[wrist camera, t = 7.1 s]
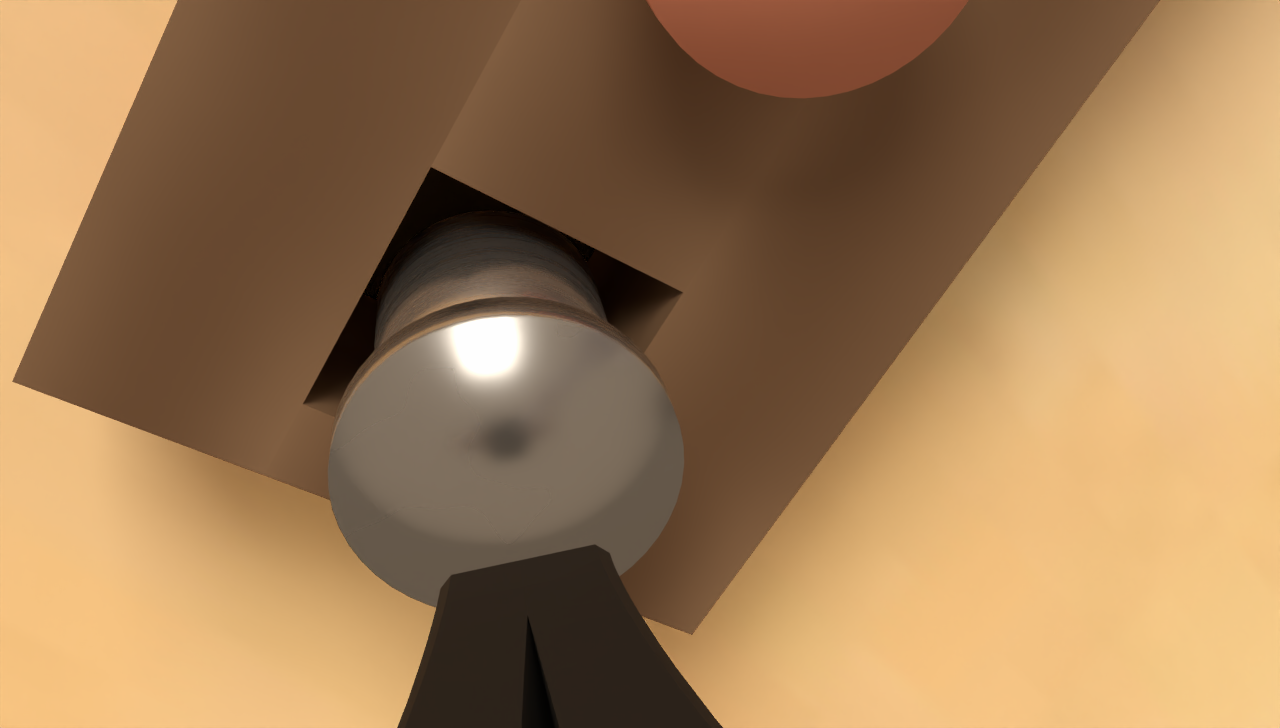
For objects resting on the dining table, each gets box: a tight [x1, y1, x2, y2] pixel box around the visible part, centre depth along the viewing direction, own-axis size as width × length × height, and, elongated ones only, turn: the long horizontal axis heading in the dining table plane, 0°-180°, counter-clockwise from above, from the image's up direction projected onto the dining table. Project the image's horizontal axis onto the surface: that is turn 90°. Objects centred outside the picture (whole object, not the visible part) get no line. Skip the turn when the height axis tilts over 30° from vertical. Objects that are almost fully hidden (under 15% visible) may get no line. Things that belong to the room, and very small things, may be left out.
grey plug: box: [328, 210, 684, 607], centre depth 15 cm, size 4×4×4 cm
